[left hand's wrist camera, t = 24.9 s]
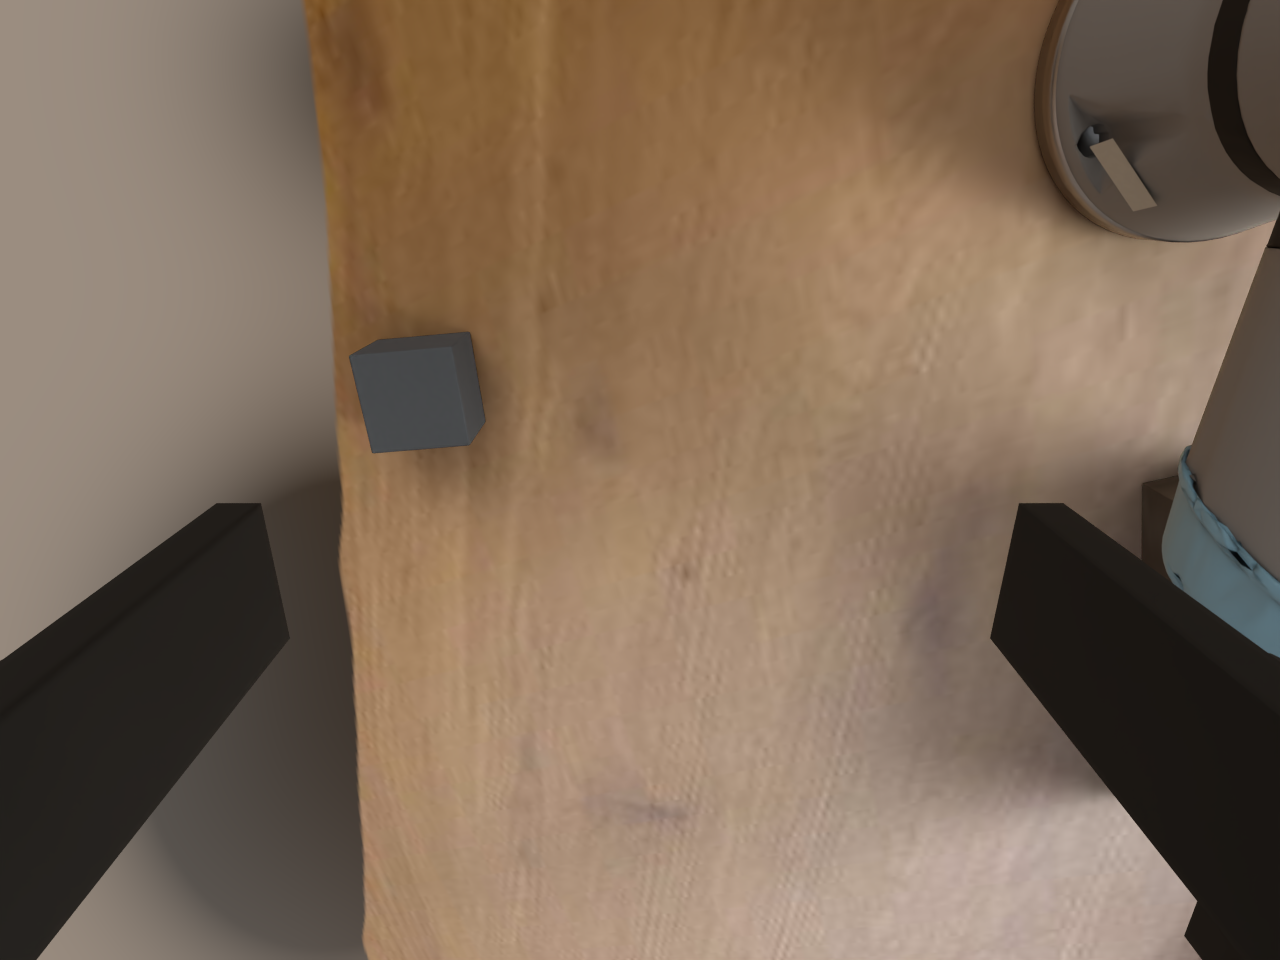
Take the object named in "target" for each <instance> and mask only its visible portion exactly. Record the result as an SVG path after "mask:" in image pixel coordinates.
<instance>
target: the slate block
mask: <svg viewBox="0 0 1280 960" xmlns="http://www.w3.org/2000/svg"><path fill="white" fill-rule="evenodd" d="M349 359H350V363H351V367H352V371H353V375H354V379H355V384H356V388H357V392H358V396H359V400H360V404H361V409H362V413H363V417H364V421H365V425H366V429H367V434H368V438H369V442H370V446H371V450H372V453H383V452H395V451H407V450H419V449H431V448H443V447H455V446H467V445H470V444H471V442H472V441H473V439H474V438H475V436H476V435H477V433H478V432H479V430H480V429H481V428H482V426H483V425H484V423H485V416H484V410H483V405H482V399H481V393H480V387H479V382H478V376H477V370H476V364H475V359H474V353H473V347H472V342H471V336H470V333H469V332H461V333H450V334H439V335H427V336H416V337H405V338H393V339H382V340H377V341H375V342H373V343H371V344H369V345H368V346H366V347H364V348H362V349H360V350H359V351H357V352H355V353H353V354H351V355H350V356H349Z"/></svg>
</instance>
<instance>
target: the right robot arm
mask: <svg viewBox="0 0 1280 960" xmlns="http://www.w3.org/2000/svg"><path fill="white" fill-rule="evenodd" d="M1184 936H1185V937H1186V939H1187V940H1188V941H1189V943H1190V944H1191V945H1192V947H1193V948H1194V949H1195V951H1196V952H1197V953H1198V955H1199V956H1200V957H1201V959H1202V960H1243V958H1242V957H1241V956H1240V954H1239V953H1238V952H1237V951H1236V949H1235V948H1234V947H1233V946H1232V944H1231V943H1230V942H1229V940H1228V939H1227V938H1226V937H1225V935H1224V934H1223V933H1222V932H1221V930H1220V929H1219V928H1218V927H1217V925H1216V924H1215V923H1214V921H1213V920H1212V919H1211V918H1210V916H1209V915H1208V914H1207V913H1206V911H1205V910H1204V909H1203V908H1202V906H1201V905H1200V904H1199V902H1198V901H1197V904H1196V906H1195V909H1194V912H1193V914H1192V917H1191V919H1190V922H1189V925H1188V927H1187V930H1186V932H1185V935H1184Z"/></svg>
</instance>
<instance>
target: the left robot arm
mask: <svg viewBox="0 0 1280 960" xmlns="http://www.w3.org/2000/svg"><path fill="white" fill-rule="evenodd" d="M1034 110H1035V124H1036V130H1037V136H1038V142H1039V145H1040V149H1041V152H1042V156H1043V159H1044V161H1045V164H1046V166H1047V169H1048V171H1049V173H1050V175H1051V177H1052V179H1053V181H1054V182H1055V184H1056V186H1057V187H1058V189H1059V190H1060V191H1061V193H1062V194H1063V196H1064V197H1065V198H1066V199H1067V200H1068V201H1069V203H1070V204H1071V205H1072V206H1073V207H1074V208H1075V209H1076V210H1078V211H1079V212H1080V213H1081V214H1082V215H1083V216H1085V217H1086V218H1088V219H1089V220H1091V221H1092V222H1094V223H1095V224H1097V225H1099V226H1101V227H1103V228H1105V229H1107V230H1109V231H1112V232H1114V233H1117V234H1120V235H1124V236H1128V237H1132V238H1138V239H1146V240H1155V241H1166V242H1198V241H1207V240H1212V239H1218V238H1222V237H1226V236H1230V235H1233V234H1237V233H1240V232H1242V231H1245V230H1248V229H1251V228H1254V227H1256V226H1259V225H1262V224H1265V223H1268V222H1271V221H1274V220H1276V223H1275V226H1274V228H1273V231H1272V234H1271V237H1270V239H1269V242H1268V244H1267V247H1266V248H1265V250H1264V253H1263V255H1262V258H1261V261H1260V263H1259V266H1258V269H1257V272H1256V274H1255V277H1254V280H1253V282H1252V285H1251V288H1250V290H1249V293H1248V296H1247V298H1246V301H1245V304H1244V306H1243V309H1242V312H1241V315H1240V317H1239V320H1238V323H1237V325H1236V328H1235V331H1234V333H1233V336H1232V339H1231V341H1230V344H1229V347H1228V349H1227V352H1226V355H1225V358H1224V360H1223V363H1222V366H1221V368H1220V371H1219V374H1218V376H1217V379H1216V382H1215V384H1214V387H1213V390H1212V392H1211V395H1210V398H1209V401H1208V403H1207V406H1206V409H1205V411H1204V414H1203V417H1202V419H1201V422H1200V425H1199V427H1198V430H1197V433H1196V435H1195V438H1194V441H1193V444H1192V445H1190V446H1187V447H1186V448H1185V450H1184V451H1183V453H1182V455H1181V457H1180V460H1179V465H1178V475H1179V483H1178V486H1177V490H1176V493H1175V497H1174V500H1173V503H1172V507H1171V510H1170V514H1169V517H1168V520H1167V524H1166V527H1165V531H1164V534H1163V539H1162V556H1163V562H1164V565H1165V569H1166V572H1167V574H1168V576H1169V578H1170V579H1171V581H1172V582H1170V581H1169V580H1168V579H1166V578H1165V577H1163V576H1162V575H1161V574H1159V573H1158V572H1157V571H1155V570H1154V569H1153V568H1151V567H1150V566H1148V565H1147V564H1146V563H1144V562H1143V561H1142V560H1140V559H1139V558H1137V557H1136V556H1135V555H1133V554H1132V553H1131V552H1129V551H1128V550H1127V549H1125V548H1124V547H1122V546H1121V545H1120V544H1118V543H1117V542H1116V541H1114V540H1113V539H1111V538H1110V537H1109V536H1107V535H1106V534H1105V533H1103V532H1102V531H1101V530H1099V529H1098V528H1096V527H1095V526H1094V525H1092V524H1091V523H1090V522H1088V521H1087V520H1085V519H1084V518H1083V517H1081V516H1080V515H1079V514H1077V513H1076V512H1075V511H1073V510H1072V509H1070V508H1069V507H1068V506H1066V505H1065V504H1064V503H1019V506H1018V511H1017V516H1016V520H1015V525H1014V530H1013V534H1012V539H1011V544H1010V548H1009V553H1008V557H1007V562H1006V567H1005V571H1004V576H1003V581H1002V585H1001V590H1000V595H999V599H998V604H997V609H996V613H995V618H994V623H993V627H992V632H991V637H990V639H991V640H992V641H993V642H994V644H995V645H996V646H997V647H998V649H999V650H1000V651H1001V653H1002V654H1003V655H1004V656H1005V658H1006V659H1007V660H1008V661H1009V663H1010V664H1011V665H1012V666H1013V668H1014V669H1015V670H1016V672H1017V673H1018V674H1019V675H1020V677H1021V678H1022V679H1023V680H1024V682H1025V683H1026V684H1027V686H1028V687H1029V688H1030V689H1031V691H1032V692H1033V693H1034V694H1035V696H1036V697H1037V698H1038V699H1039V701H1040V702H1041V703H1042V705H1043V706H1044V707H1045V708H1046V710H1047V711H1048V712H1049V713H1050V715H1051V716H1052V717H1053V718H1054V720H1055V721H1056V722H1057V724H1058V725H1059V726H1060V727H1061V729H1062V730H1063V731H1064V732H1065V734H1066V735H1067V736H1068V738H1069V739H1070V740H1071V741H1072V743H1073V744H1074V745H1075V746H1076V748H1077V749H1078V750H1079V751H1080V753H1081V754H1082V755H1083V757H1084V758H1085V759H1086V760H1087V762H1088V763H1089V764H1090V765H1091V767H1092V768H1093V769H1094V771H1095V772H1096V773H1097V774H1098V776H1099V777H1100V778H1101V779H1102V781H1103V782H1104V783H1105V784H1106V786H1107V787H1108V788H1109V790H1110V791H1111V792H1112V793H1113V795H1114V796H1115V797H1116V798H1117V800H1118V801H1119V802H1120V803H1121V805H1122V806H1123V807H1124V809H1125V810H1126V811H1127V812H1128V814H1129V815H1130V816H1131V817H1132V819H1133V820H1134V821H1135V823H1136V824H1137V825H1138V826H1139V828H1140V829H1141V830H1142V831H1143V833H1144V834H1145V835H1146V836H1147V838H1148V839H1149V840H1150V842H1151V843H1152V844H1153V845H1154V847H1155V848H1156V849H1157V850H1158V852H1159V853H1160V854H1161V855H1162V857H1163V858H1164V859H1165V861H1166V862H1167V863H1168V864H1169V866H1170V867H1171V868H1172V869H1173V871H1174V872H1175V873H1176V875H1177V876H1178V877H1179V878H1180V880H1181V881H1182V882H1183V883H1184V885H1185V886H1186V887H1187V888H1188V890H1189V891H1190V892H1191V894H1192V895H1193V896H1194V897H1195V899H1196V900H1197V901H1198V902H1199V904H1200V905H1201V906H1202V908H1203V909H1204V910H1205V911H1206V913H1207V914H1208V915H1209V916H1210V918H1211V919H1212V920H1213V921H1214V923H1215V924H1216V925H1217V927H1218V928H1219V929H1220V930H1221V932H1222V933H1223V934H1224V935H1225V937H1226V938H1227V939H1228V940H1229V942H1230V943H1231V944H1232V946H1233V947H1234V948H1235V949H1236V951H1237V952H1238V953H1239V954H1240V956H1241V957H1242V958H1243V960H1280V0H1059V3H1058V5H1057V7H1056V9H1055V11H1054V14H1053V16H1052V18H1051V21H1050V24H1049V27H1048V29H1047V32H1046V35H1045V38H1044V42H1043V46H1042V49H1041V53H1040V58H1039V63H1038V68H1037V74H1036V83H1035V102H1034ZM289 639H290V637H289V632H288V628H287V623H286V618H285V613H284V609H283V604H282V599H281V595H280V590H279V586H278V581H277V576H276V571H275V567H274V562H273V558H272V553H271V548H270V544H269V539H268V534H267V530H266V525H265V520H264V516H263V511H262V506H261V503H217V504H215V505H214V506H212V507H211V508H210V509H208V510H207V511H206V512H204V513H203V514H201V515H200V516H199V517H197V518H196V519H195V520H193V521H192V522H190V523H189V524H188V525H186V526H185V527H184V528H182V529H181V530H179V531H178V532H177V533H175V534H174V535H173V536H171V537H170V538H169V539H167V540H166V541H164V542H163V543H162V544H160V545H159V546H158V547H156V548H155V549H154V550H152V551H151V552H149V553H148V554H147V555H145V556H144V557H143V558H141V559H140V560H138V561H137V562H136V563H134V564H133V565H132V566H130V567H129V568H128V569H126V570H125V571H123V572H122V573H121V574H119V575H118V576H117V577H115V578H114V579H112V580H111V581H110V582H108V583H107V584H106V585H104V586H103V587H102V588H100V589H99V590H97V591H96V592H95V593H93V594H92V595H91V596H89V597H88V598H87V599H85V600H84V601H82V602H81V603H80V604H78V605H77V606H75V607H74V608H73V609H71V610H70V611H69V612H67V613H66V614H65V615H63V616H62V617H60V618H59V619H58V620H56V621H55V622H54V623H52V624H51V625H49V626H48V627H47V628H45V629H44V630H43V631H41V632H40V633H39V634H37V635H36V636H34V637H33V638H32V639H30V640H29V641H28V642H26V643H25V644H23V645H22V646H21V647H19V648H18V649H17V650H15V651H14V652H13V653H11V654H10V655H8V656H7V657H6V658H4V659H3V660H1V661H0V960H37V958H38V957H39V956H40V954H41V953H42V952H43V951H44V949H45V948H46V947H47V946H48V944H49V943H50V942H51V940H52V939H53V938H54V937H55V935H56V934H57V933H58V932H59V930H60V929H61V928H62V927H63V925H64V924H65V923H66V921H67V920H68V919H69V918H70V916H71V915H72V914H73V912H74V911H75V910H76V909H77V907H78V906H79V905H80V904H81V902H82V901H83V900H84V899H85V897H86V896H87V895H88V894H89V892H90V891H91V890H92V888H93V887H94V886H95V885H96V883H97V882H98V881H99V880H100V878H101V877H102V876H103V875H104V873H105V872H106V871H107V869H108V868H109V867H110V866H111V864H112V863H113V862H114V861H115V859H116V858H117V857H118V855H119V854H120V853H121V852H122V850H123V849H124V848H125V847H126V845H127V844H128V843H129V842H130V840H131V839H132V838H133V836H134V835H135V834H136V833H137V831H138V830H139V829H140V828H141V826H142V825H143V824H144V822H145V821H146V820H147V819H148V817H149V816H150V815H151V814H152V812H153V811H154V810H155V809H156V807H157V806H158V805H159V803H160V802H161V801H162V800H163V798H164V797H165V796H166V795H167V793H168V792H169V791H170V790H171V788H172V787H173V786H174V784H175V783H176V782H177V781H178V779H179V778H180V777H181V776H182V774H183V773H184V772H185V770H186V769H187V768H188V767H189V765H190V764H191V763H192V762H193V760H194V759H195V758H196V756H197V755H198V754H199V753H200V751H201V750H202V749H203V748H204V746H205V745H206V744H207V743H208V741H209V740H210V739H211V737H212V736H213V735H214V734H215V732H216V731H217V730H218V729H219V727H220V726H221V725H222V724H223V722H224V721H225V720H226V718H227V717H228V716H229V715H230V713H231V712H232V711H233V710H234V708H235V707H236V706H237V704H238V703H239V702H240V701H241V699H242V698H243V697H244V696H245V694H246V693H247V692H248V691H249V689H250V688H251V687H252V685H253V684H254V683H255V682H256V680H257V679H258V678H259V677H260V675H261V674H262V673H263V672H264V670H265V669H266V668H267V666H268V665H269V664H270V663H271V661H272V660H273V659H274V658H275V656H276V655H277V654H278V653H279V651H280V650H281V649H282V647H283V646H284V645H285V644H286V642H287V641H288V640H289Z"/></svg>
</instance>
